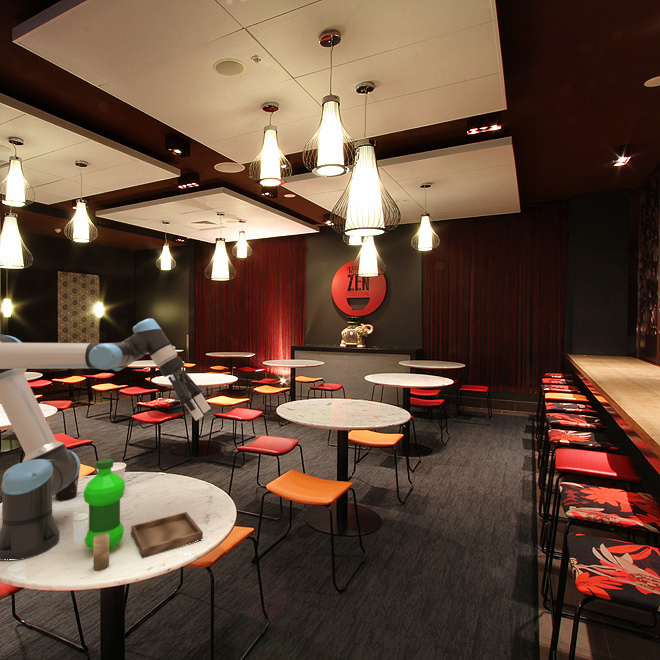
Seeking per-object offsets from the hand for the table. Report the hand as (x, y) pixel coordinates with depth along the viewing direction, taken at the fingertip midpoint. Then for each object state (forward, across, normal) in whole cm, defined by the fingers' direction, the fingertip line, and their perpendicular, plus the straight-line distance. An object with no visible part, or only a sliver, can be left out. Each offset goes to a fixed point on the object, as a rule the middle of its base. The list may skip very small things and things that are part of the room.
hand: (203, 414), depth 137 cm
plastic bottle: (+16, -16, +40) cm, 46 cm away
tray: (+24, -12, +26) cm, 37 cm away
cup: (+8, +23, +50) cm, 56 cm away
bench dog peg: (+18, -26, +37) cm, 48 cm away
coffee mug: (0, +25, +64) cm, 68 cm away
